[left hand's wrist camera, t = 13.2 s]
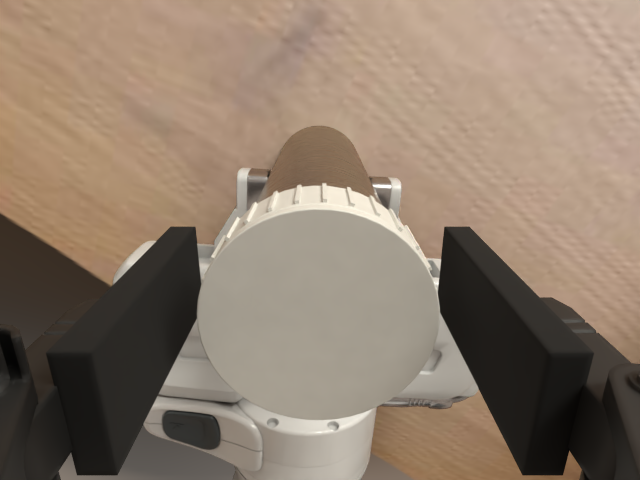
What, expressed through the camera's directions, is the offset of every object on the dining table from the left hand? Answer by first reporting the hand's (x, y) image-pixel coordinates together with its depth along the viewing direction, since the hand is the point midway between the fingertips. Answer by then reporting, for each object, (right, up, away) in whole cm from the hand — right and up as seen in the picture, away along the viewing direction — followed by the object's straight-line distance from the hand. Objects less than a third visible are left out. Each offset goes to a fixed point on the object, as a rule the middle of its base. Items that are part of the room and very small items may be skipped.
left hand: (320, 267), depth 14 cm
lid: (0, -1, -3) cm, 3 cm away
